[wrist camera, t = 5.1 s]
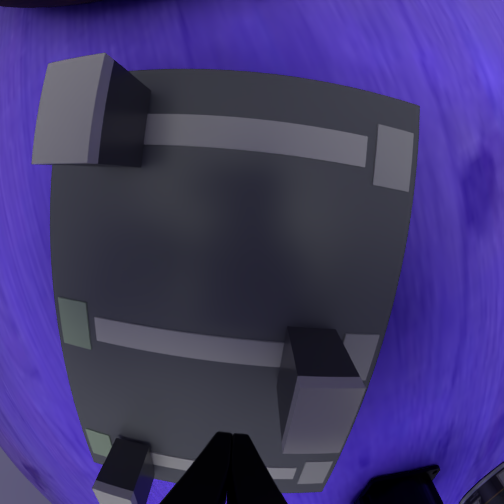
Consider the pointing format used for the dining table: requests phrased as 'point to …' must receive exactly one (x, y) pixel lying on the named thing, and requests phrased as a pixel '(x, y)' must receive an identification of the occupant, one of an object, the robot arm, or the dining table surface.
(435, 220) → the dining table surface
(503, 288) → the dining table surface
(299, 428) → the block
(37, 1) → the wooden bowl
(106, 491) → the breaker far
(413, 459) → the dining table surface
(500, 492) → the coffee can
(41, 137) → the block
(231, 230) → the panel
